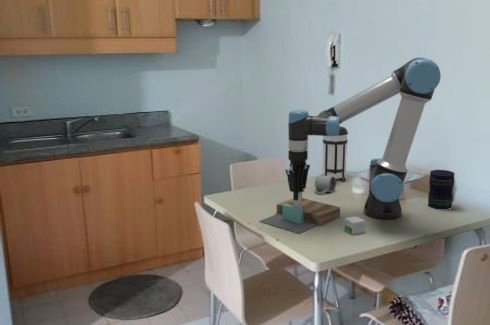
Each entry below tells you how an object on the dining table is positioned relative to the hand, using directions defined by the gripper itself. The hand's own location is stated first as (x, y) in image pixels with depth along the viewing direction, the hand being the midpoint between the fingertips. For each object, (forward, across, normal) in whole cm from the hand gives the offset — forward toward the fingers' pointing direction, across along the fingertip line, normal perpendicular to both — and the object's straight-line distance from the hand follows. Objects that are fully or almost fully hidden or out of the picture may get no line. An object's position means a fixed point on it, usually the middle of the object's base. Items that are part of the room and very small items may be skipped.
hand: (297, 207), depth 204 cm
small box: (+6, -4, +24) cm, 25 cm away
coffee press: (+5, -60, -22) cm, 64 cm away
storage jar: (+5, -53, +36) cm, 64 cm away
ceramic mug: (+6, -39, -14) cm, 42 cm away
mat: (+5, +6, 0) cm, 8 cm away
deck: (+5, -7, 0) cm, 9 cm away
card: (+2, +2, 0) cm, 3 cm away
